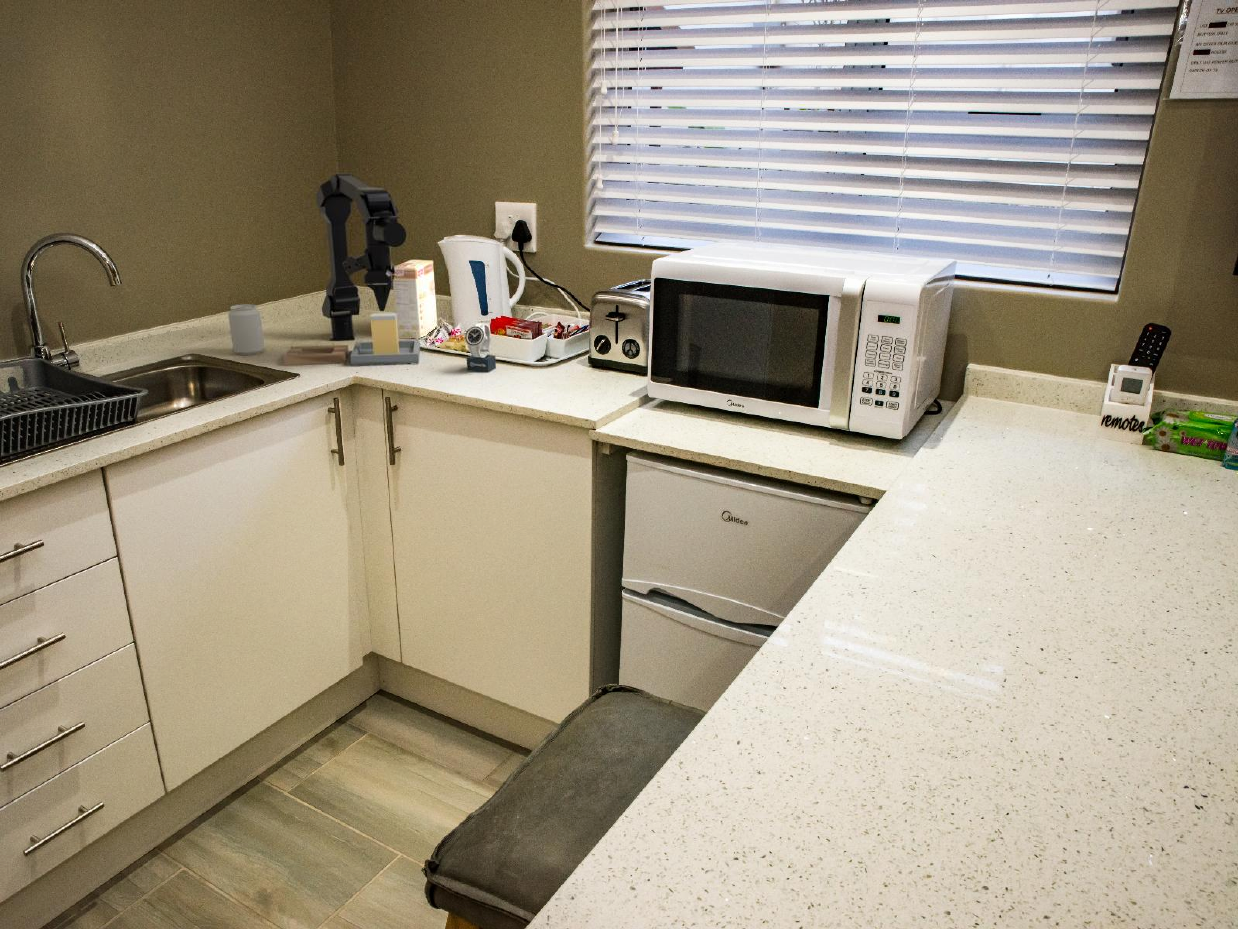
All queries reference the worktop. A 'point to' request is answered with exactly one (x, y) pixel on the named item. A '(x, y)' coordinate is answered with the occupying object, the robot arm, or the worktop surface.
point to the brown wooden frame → (316, 355)
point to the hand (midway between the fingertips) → (383, 307)
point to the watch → (479, 348)
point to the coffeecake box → (415, 298)
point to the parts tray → (366, 357)
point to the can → (246, 329)
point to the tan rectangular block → (384, 333)
